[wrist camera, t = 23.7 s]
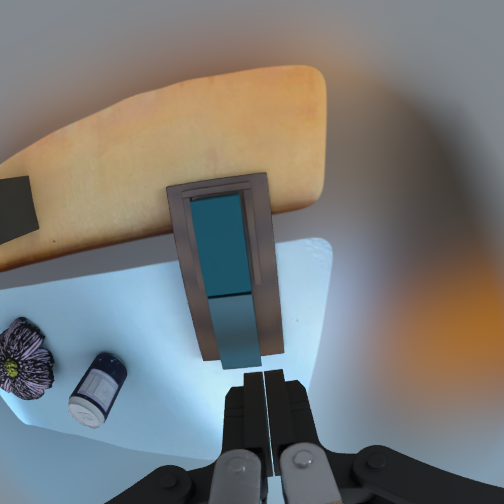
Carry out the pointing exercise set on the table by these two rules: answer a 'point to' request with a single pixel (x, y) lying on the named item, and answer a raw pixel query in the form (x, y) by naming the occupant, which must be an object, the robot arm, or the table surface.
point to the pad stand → (16, 208)
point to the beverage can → (97, 391)
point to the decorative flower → (24, 361)
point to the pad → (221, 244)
